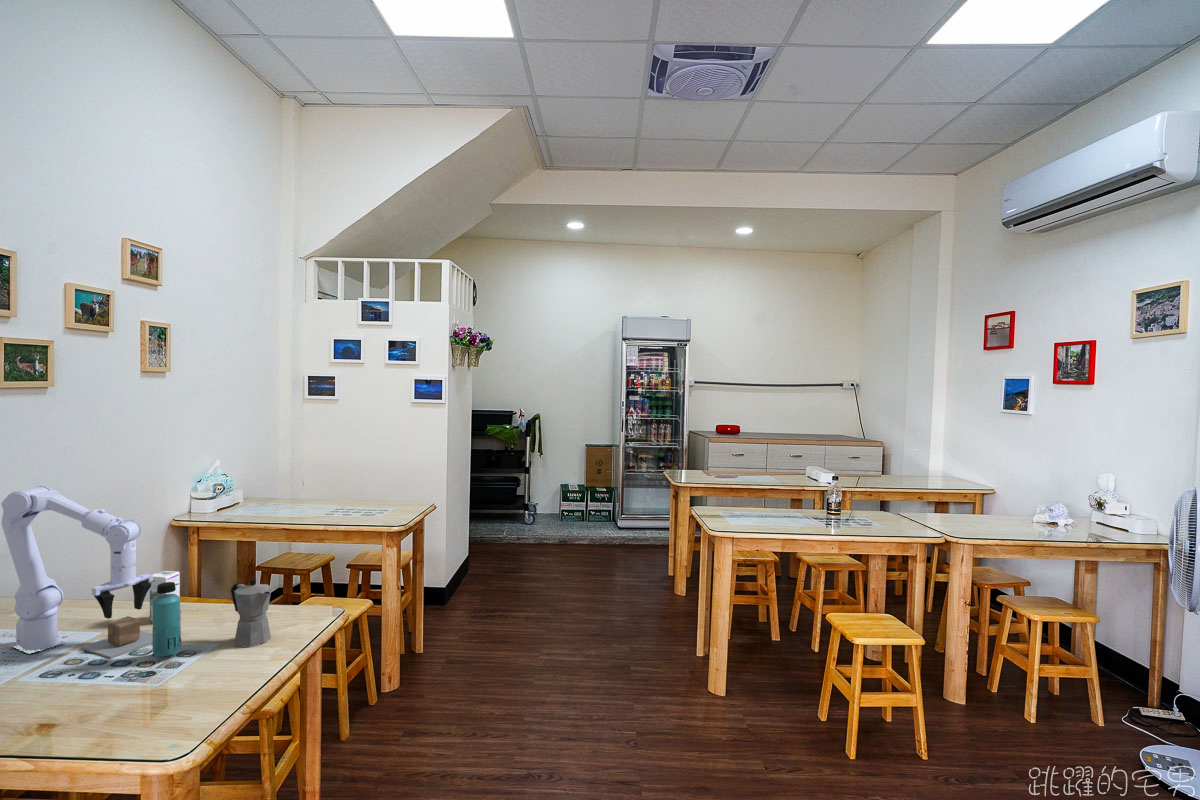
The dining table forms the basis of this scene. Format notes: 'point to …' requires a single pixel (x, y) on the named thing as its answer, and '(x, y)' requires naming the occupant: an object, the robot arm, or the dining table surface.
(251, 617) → the coffeepot
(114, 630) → the brown shipping carton
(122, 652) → the flat grey base plate
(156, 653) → the beverage bottle
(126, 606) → the dining table surface
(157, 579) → the syrup box
